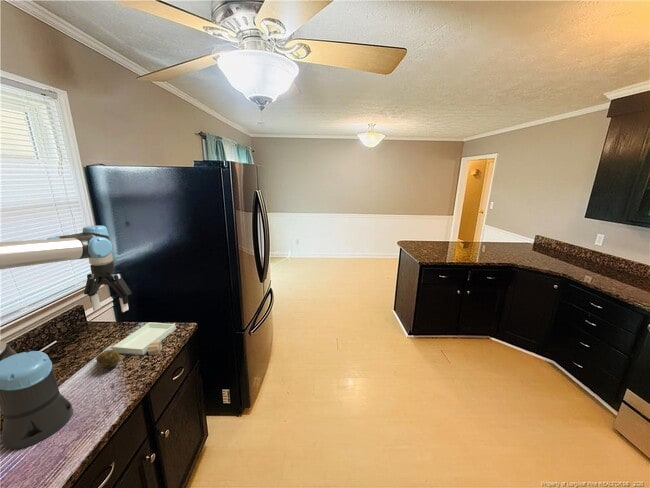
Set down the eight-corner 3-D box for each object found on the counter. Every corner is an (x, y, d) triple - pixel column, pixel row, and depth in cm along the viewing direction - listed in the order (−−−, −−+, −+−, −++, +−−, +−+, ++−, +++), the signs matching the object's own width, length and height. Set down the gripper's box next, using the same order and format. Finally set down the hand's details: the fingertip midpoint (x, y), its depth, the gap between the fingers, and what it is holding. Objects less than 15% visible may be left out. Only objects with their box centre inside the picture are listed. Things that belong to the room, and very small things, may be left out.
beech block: (158, 354, 116) (157, 346, 115) (148, 355, 116) (147, 347, 115) (162, 348, 120) (160, 340, 119) (152, 349, 119) (151, 342, 118)
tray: (143, 355, 115) (142, 349, 115) (113, 352, 117) (112, 346, 117) (176, 329, 136) (175, 324, 135) (150, 327, 138) (149, 322, 137)
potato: (125, 353, 117) (122, 337, 115) (119, 371, 106) (115, 354, 104) (101, 359, 113) (97, 343, 111) (93, 378, 102) (88, 361, 100)
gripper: (136, 261, 111) (144, 307, 116) (84, 259, 114) (93, 305, 119) (121, 266, 104) (130, 315, 109) (65, 264, 107) (76, 312, 111)
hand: (111, 310), depth 114 cm, fingers open, 13 cm apart
